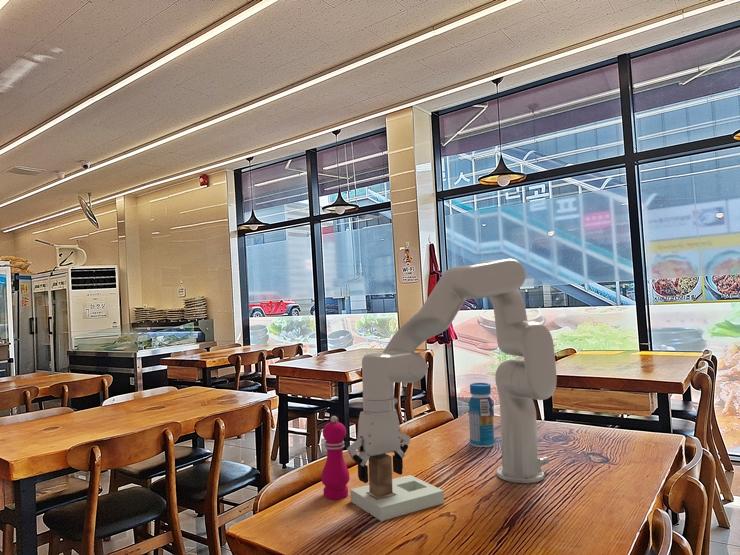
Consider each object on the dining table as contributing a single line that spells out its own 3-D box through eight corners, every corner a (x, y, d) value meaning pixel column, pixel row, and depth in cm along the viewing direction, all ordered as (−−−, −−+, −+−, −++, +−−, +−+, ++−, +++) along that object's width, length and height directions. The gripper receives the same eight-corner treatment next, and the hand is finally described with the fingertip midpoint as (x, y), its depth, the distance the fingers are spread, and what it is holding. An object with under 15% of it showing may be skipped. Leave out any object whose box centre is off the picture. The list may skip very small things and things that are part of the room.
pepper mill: (346, 501, 133) (344, 419, 133) (318, 499, 134) (316, 418, 135) (353, 490, 140) (350, 413, 140) (326, 489, 141) (324, 412, 142)
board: (410, 486, 142) (410, 474, 142) (444, 503, 130) (443, 490, 130) (350, 501, 132) (350, 489, 132) (381, 521, 120) (380, 507, 120)
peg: (383, 501, 131) (382, 452, 132) (393, 507, 128) (391, 456, 128) (369, 505, 129) (368, 455, 130) (378, 511, 126) (377, 459, 126)
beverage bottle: (465, 446, 177) (463, 385, 178) (474, 440, 184) (472, 381, 185) (490, 449, 173) (488, 386, 174) (498, 443, 180) (496, 383, 181)
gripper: (399, 398, 137) (401, 466, 137) (339, 407, 128) (341, 480, 128) (417, 403, 131) (419, 474, 130) (355, 413, 122) (357, 489, 121)
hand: (381, 477), depth 129 cm, fingers open, 9 cm apart
